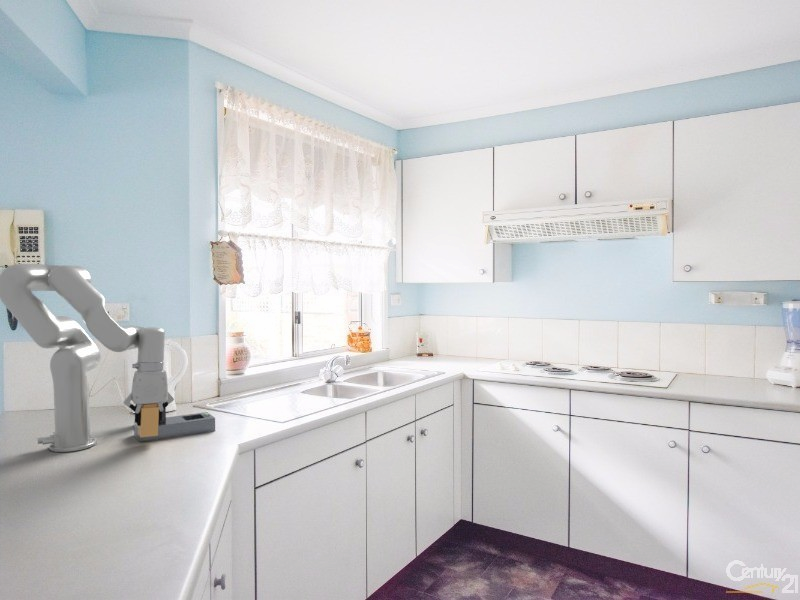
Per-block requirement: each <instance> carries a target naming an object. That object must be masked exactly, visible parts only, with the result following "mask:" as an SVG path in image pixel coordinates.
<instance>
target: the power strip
mask: <svg viewBox="0 0 800 600" xmlns="http://www.w3.org/2000/svg"><path fill="white" fill-rule="evenodd" d="M166 408H167V407H166ZM166 408H165V409H164V410H163V411H162V421H160V424H158V436H149V437H140V436H139V434H138V425H137V423H135V421H134V422H133V434H134V437H135V438H136V440H138V442H139V443H144V442H152V441H157V440H163V439H164V440H165V439H171V438H177V437H184V436H188V435H189V436H190V435H196V434H197V435H198V434H202V433H208V431H210V432H215V431H216V417H214V415H212V414H211V413H209V412H207V411H206V412H204V411H203V412H198V413H197V412H196V413H190V414H181V415H175V416H174V415H173V416H168V417H167V412H166V411H167V409H166ZM214 430H215V431H214Z"/></svg>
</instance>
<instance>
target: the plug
mask: <svg viewBox="0 0 800 600" xmlns="http://www.w3.org/2000/svg"><path fill="white" fill-rule="evenodd" d="M140 413H141V425H140V426H138V434H139V436H140V437H149V436H158V420H159V407H158V406H157V403H155V404H142V406H141V409H140Z"/></svg>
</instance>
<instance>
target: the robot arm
mask: <svg viewBox="0 0 800 600" xmlns="http://www.w3.org/2000/svg"><path fill="white" fill-rule="evenodd" d="M91 279H92V278H91V274H90V273H89V271H87V269H85V268H84V267H82V266H79V265H57V264H56V265H55V264H39V263H37V264H35V263H16V264H12V265H9V266H7V267H5V268H4V269H3V270H2V271H1V273H0V301H1V303H2V304H3V306H5V307H6V308H7V310H8V311H9V312H10V313H11V314H12V315H13V317H14V318H15V319H16V320H17V322H18V323H19V324H20V326H21V327H22V328H23V329H24V330H25V332H26V333H27V335H29V337H30V338H31V339H32V340H33V342H34V343H35V344H36V345H37V346H38V347H40V348H42V349H54V348H59V349H57V350H56V351H55V352H54V353H53V354H52V356H51V358H50V361H49V369H50V373H51V378H52V383H53V385H52V386H53V401H54V402H53V403H54V404H53V406H54V407H53V408H54V409H53V410H54V415H53V416H54V432H53V433H52V434H50V435H49V436H41V437H37V445H41V444H42V445H43V446H44V445H49V446H48V447H49V448H48V449H49V450H50V451H51V452H55V453H64V452H65V453H68V452H69V453H70V452H76V451H81V450H86V449H89V448H92V447H93V446H95V445H96V443H97V439H96V438H94V437H91V417H90V416H91V415H90V413H91V412H90V411H91V409H90V404H91V403H90V402H91V401H90V385H89V379H88V377H87V372H90V371H91V370H93V369H95V368H96V367H97V366H98V365H99V364H100V362H101V357H102V356H101V352H100V349H99V348H98V346H97V344H96V343H95V342H94V341H93V340H92V338H91V337H90V336H89V335H88V333H86V331H85V330H84V328H82V326H81V325H80V324H79V323H78V321H76V320H74V319H73V318H71V317H68V316H64V315H63V316H59V315H58V316H55V314H53V313H52V312H51V310H50V309H49V308H48V307H47V305H46V304H45V303H44V302H43V301H42V300H41V299H39V298H38V297H37V296H36V295H35V294H33V292H38V291H39V292H40V291H41V292H43V291H44V292H56V293H57V295H59V296H60V297H61V299H63V300H64V301H65V302H67V303H68V304H69V305H70V306H71V308H73V309H74V310H75V311H76V313H78V314H79V315H80V316H81V319H82V321H83V323H84V324H85V326H86V328H87V330H88V332H89V333H90V334H91V335H92V336H93V337H94V338H95V339H96V340H97V341H98V342H99V343H101V345H102V346H104V347H105V348H106V349H108V350H109V351H111V352H114V353H122V352H126V351H128V350H134V349H137V361H136V362H135V363H132V365H131V368H132V369H136V370H135V371H134V373H133V379H132V386H131V392H130V393H129V394H128V395H127V397H126V398H125V399H124V400H123V402H122V403H123V405H125V406H126V407H128V408H129V409H131V410H132V412H134V422H135V423H137V425H138V426H140V425H141V413H140V409H141V406H142V404H155V403H157V406H158V407H159V420H158V424H160V421H162V411H163V410H164V409H165V408H167V407H168V405H170V404H171V403H172V402H173V401H174V400H175V398H174V397H173V396H172V395H171V393H170V392H169V391H168V389H169V388H168V374H167V371H166V370H165V369H164V365H165V363H164V358H165V354H164V353H165V340H166V339H165V337H166V336H165V333H166V332H165V330H164V329H163V328H162V327H155V326H154V327H153V326H152V327H150V326H149V327H147V326H146V327H144V326H143V327H142V326H138V325H134V324H133V325H129V324H128V325H123V326H121V325H120V324H118V323H117V322H116V321H115V320H114V319H113V318H112V317H111V316H110V315H109V314H108V312H107V310H106V307H105V303H106V299H105V297H104V295H103V294H102V293H101V292H99V291H98V290H97V289H96V288H95V286H93V285H92V284H91V282H92V280H91ZM131 401H132V402H131ZM133 403H135V406H134V405H133Z"/></svg>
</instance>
